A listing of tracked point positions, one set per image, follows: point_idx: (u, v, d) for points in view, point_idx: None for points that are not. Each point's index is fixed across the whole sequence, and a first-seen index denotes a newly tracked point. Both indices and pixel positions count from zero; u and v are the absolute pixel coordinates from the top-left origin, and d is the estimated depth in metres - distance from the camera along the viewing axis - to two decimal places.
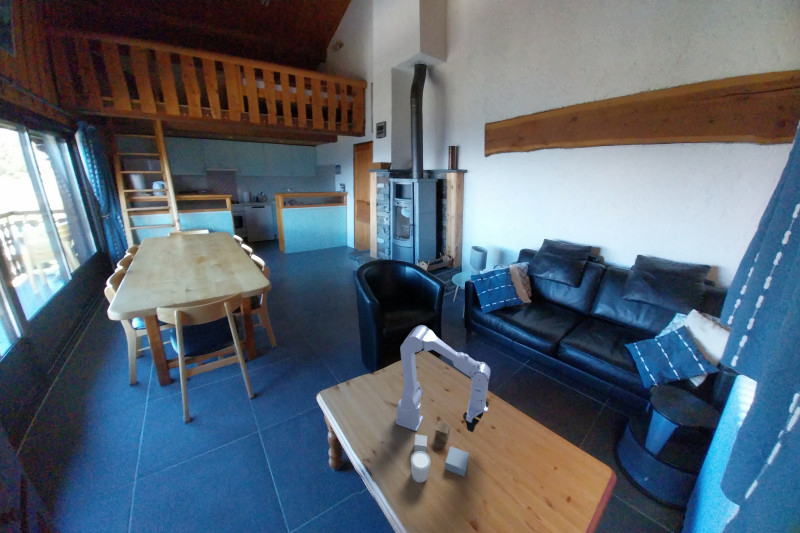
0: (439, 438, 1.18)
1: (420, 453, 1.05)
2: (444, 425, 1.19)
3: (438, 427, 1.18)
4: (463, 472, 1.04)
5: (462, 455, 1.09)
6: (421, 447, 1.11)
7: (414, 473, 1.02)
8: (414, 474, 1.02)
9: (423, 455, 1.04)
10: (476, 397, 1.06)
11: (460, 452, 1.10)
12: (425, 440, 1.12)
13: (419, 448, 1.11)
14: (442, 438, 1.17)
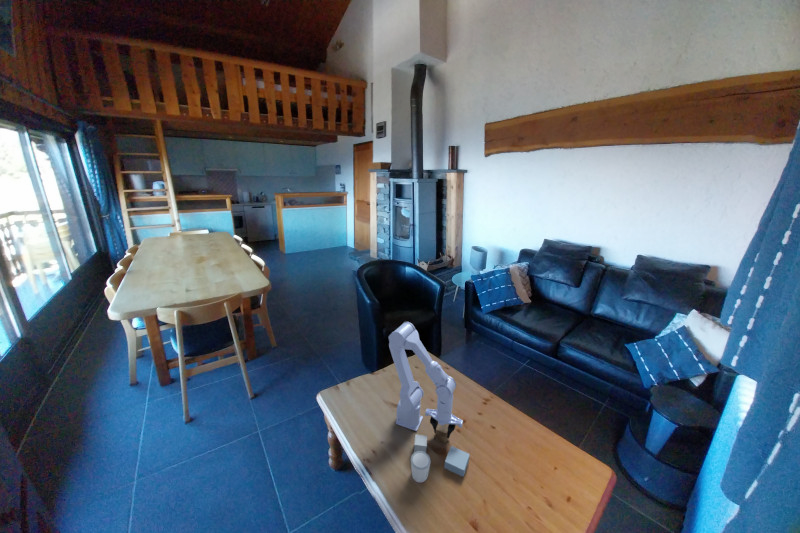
0: (439, 438, 1.18)
1: (420, 453, 1.05)
2: (444, 425, 1.19)
3: (438, 427, 1.18)
4: (462, 472, 1.04)
5: (462, 455, 1.09)
6: (421, 447, 1.11)
7: (414, 473, 1.02)
8: (414, 474, 1.02)
9: (423, 455, 1.04)
10: (441, 409, 1.12)
11: (460, 452, 1.10)
12: (425, 440, 1.12)
13: (419, 448, 1.11)
14: (442, 438, 1.17)
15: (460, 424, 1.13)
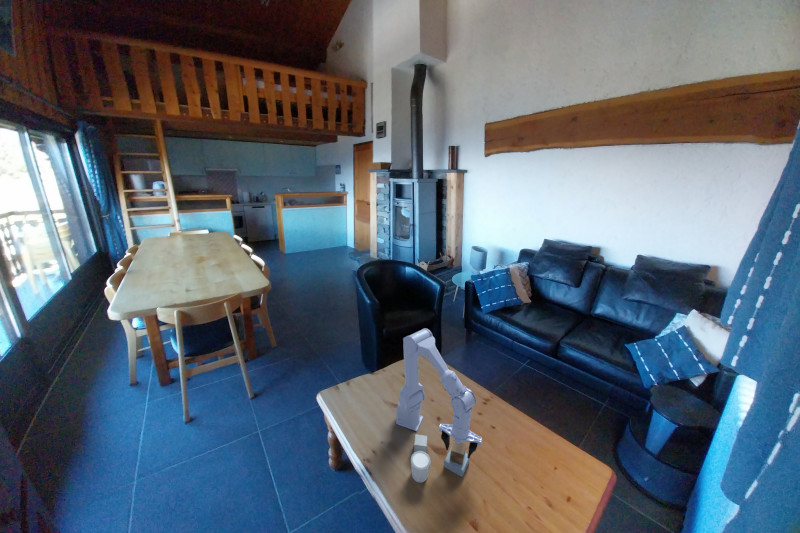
0: (454, 459, 1.06)
1: (420, 453, 1.05)
2: (459, 445, 1.07)
3: (453, 447, 1.06)
4: (461, 472, 1.04)
5: None
6: (421, 447, 1.11)
7: (414, 473, 1.02)
8: (414, 474, 1.02)
9: (423, 455, 1.04)
10: (455, 423, 1.01)
11: None
12: (425, 440, 1.12)
13: (419, 448, 1.11)
14: (458, 459, 1.05)
15: (479, 442, 1.01)
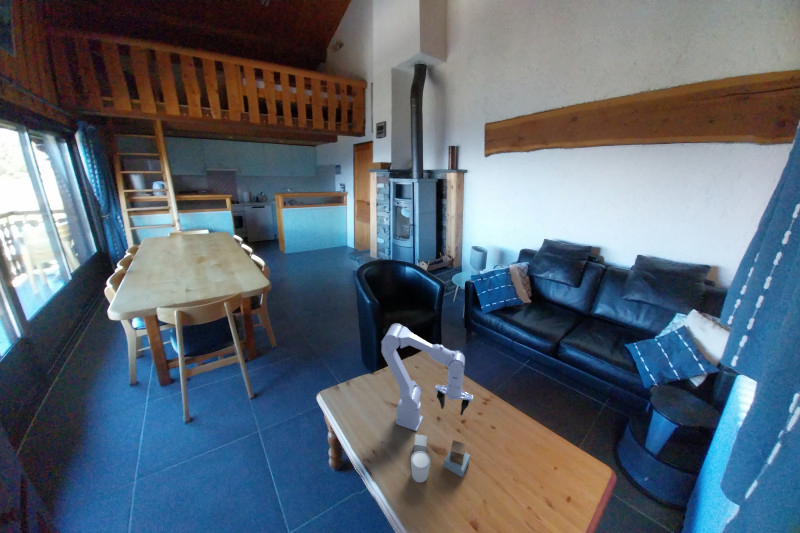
0: (454, 460, 1.06)
1: (420, 453, 1.05)
2: (459, 444, 1.07)
3: (453, 447, 1.06)
4: (461, 473, 1.04)
5: None
6: (421, 447, 1.11)
7: (414, 473, 1.02)
8: (414, 474, 1.02)
9: (423, 455, 1.04)
10: (453, 384, 1.12)
11: None
12: (425, 440, 1.12)
13: (419, 448, 1.11)
14: (458, 459, 1.05)
15: (470, 399, 1.13)
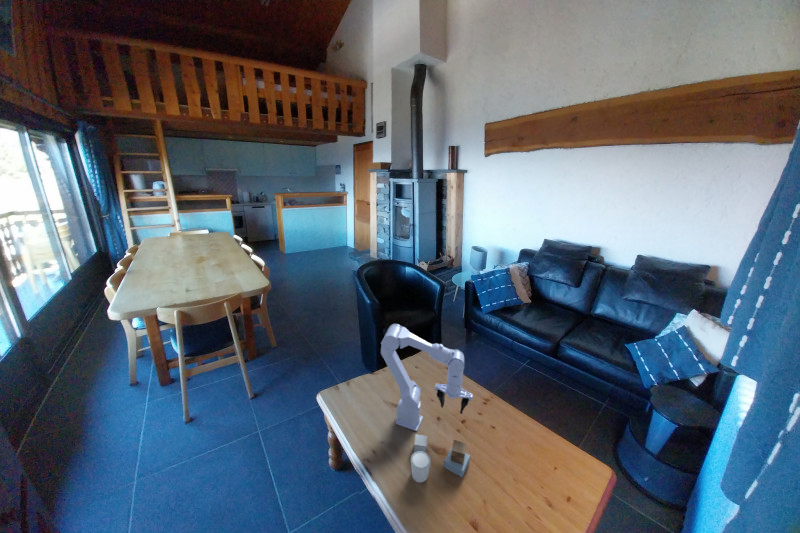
0: (455, 459, 1.06)
1: (420, 453, 1.05)
2: (460, 444, 1.07)
3: (454, 447, 1.06)
4: (461, 473, 1.04)
5: None
6: (421, 447, 1.11)
7: (414, 473, 1.02)
8: (414, 474, 1.02)
9: (423, 455, 1.04)
10: (453, 383, 1.12)
11: None
12: (425, 440, 1.12)
13: (419, 448, 1.11)
14: (459, 459, 1.05)
15: (470, 397, 1.14)
